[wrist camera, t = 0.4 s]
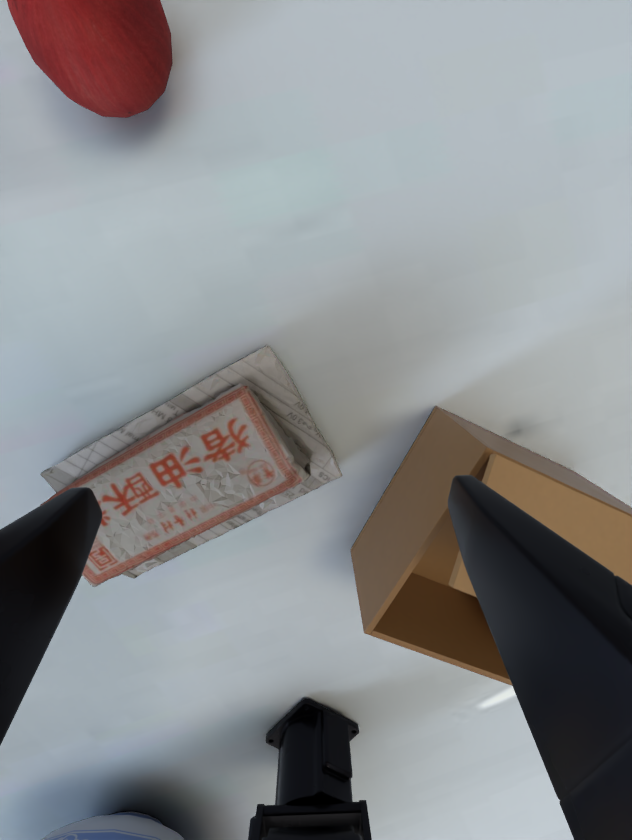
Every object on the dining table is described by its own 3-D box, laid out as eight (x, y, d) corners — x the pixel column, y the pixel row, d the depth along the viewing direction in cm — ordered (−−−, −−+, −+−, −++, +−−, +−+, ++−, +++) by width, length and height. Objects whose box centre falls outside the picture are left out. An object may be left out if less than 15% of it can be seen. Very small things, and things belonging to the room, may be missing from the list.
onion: (70, 2, 18) (-113, -229, 10) (189, 8, 18) (97, -215, 10) (90, 143, 19) (-53, 39, 12) (197, 147, 19) (124, 47, 12)
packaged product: (103, 619, 23) (-8, 502, 21) (138, 567, 28) (51, 466, 25) (349, 501, 21) (260, 350, 18) (342, 466, 25) (270, 340, 23)
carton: (435, 405, 24) (486, 447, 17) (574, 471, 26) (673, 534, 19) (350, 549, 28) (363, 633, 21) (477, 599, 29) (530, 692, 22)
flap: (490, 453, 17) (496, 453, 16) (678, 541, 18) (688, 543, 18) (447, 584, 16) (452, 587, 15) (650, 664, 18) (659, 668, 17)
